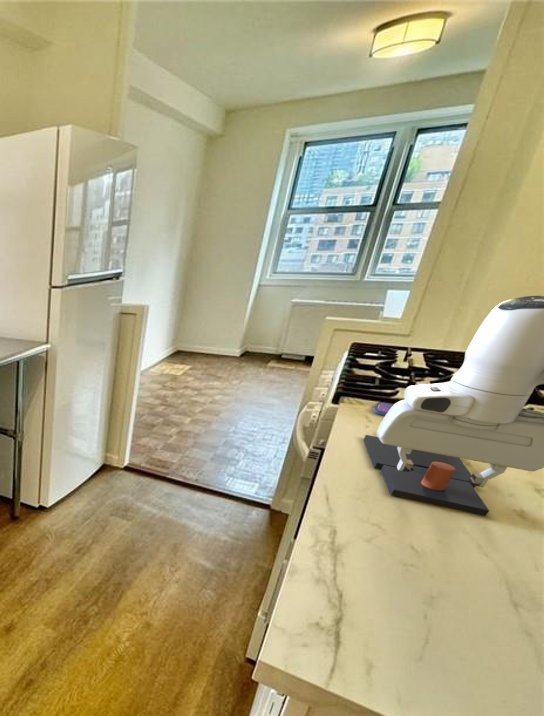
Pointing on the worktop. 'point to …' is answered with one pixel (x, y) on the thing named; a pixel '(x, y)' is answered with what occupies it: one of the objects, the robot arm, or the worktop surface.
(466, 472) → the notch pad
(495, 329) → the robot arm
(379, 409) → the smartphone
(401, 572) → the worktop surface
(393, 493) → the tab pad
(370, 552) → the worktop surface
